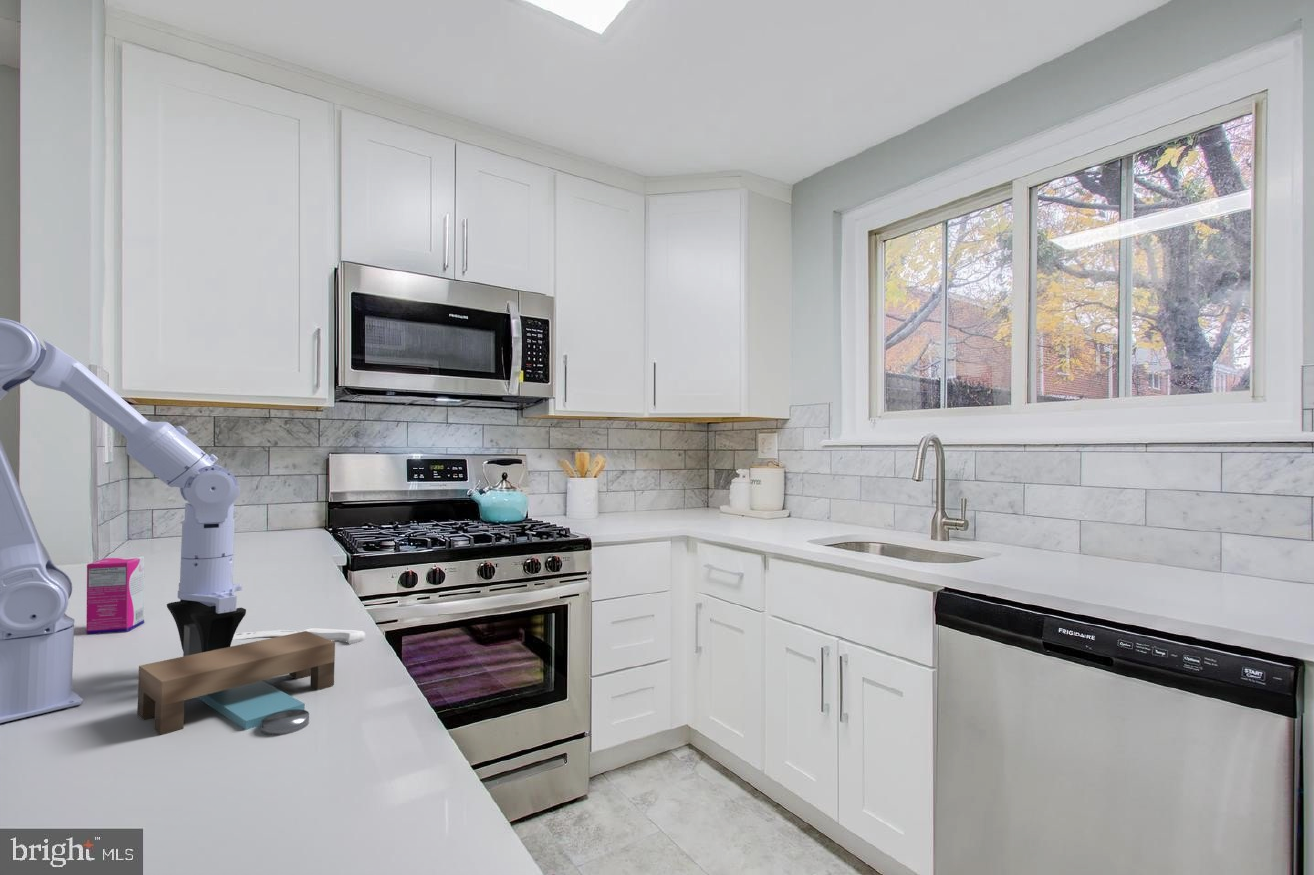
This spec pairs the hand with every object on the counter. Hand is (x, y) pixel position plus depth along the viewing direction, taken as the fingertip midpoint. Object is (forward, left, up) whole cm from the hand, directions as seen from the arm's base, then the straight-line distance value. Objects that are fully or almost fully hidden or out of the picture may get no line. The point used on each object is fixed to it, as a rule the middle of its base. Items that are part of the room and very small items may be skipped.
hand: (204, 658), depth 82 cm
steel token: (0, -24, -3) cm, 24 cm away
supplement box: (-1, +37, -2) cm, 37 cm away
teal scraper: (0, -10, -2) cm, 11 cm away
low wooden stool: (0, -12, -2) cm, 13 cm away
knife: (+12, +11, -3) cm, 17 cm away
